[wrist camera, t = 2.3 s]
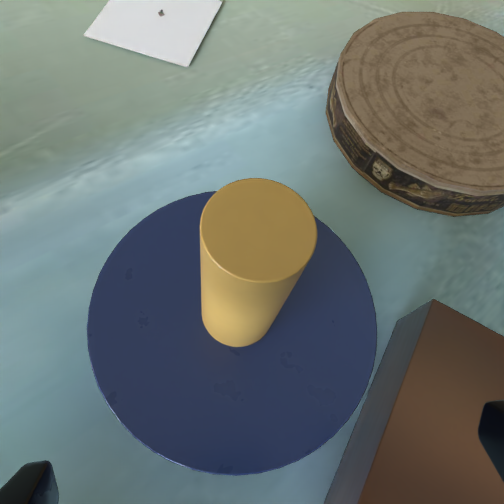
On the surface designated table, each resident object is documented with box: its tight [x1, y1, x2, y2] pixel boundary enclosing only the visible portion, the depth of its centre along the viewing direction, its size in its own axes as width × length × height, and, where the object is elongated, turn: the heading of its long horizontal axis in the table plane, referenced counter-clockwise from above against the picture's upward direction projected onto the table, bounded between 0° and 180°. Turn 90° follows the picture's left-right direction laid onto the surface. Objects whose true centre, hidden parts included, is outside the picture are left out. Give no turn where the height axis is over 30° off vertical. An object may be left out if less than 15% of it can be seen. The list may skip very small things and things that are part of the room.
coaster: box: [83, 0, 222, 67], centre depth 30 cm, size 8×8×1 cm
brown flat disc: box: [326, 12, 504, 217], centre depth 28 cm, size 16×16×3 cm
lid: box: [87, 178, 377, 476], centre depth 13 cm, size 11×11×8 cm
